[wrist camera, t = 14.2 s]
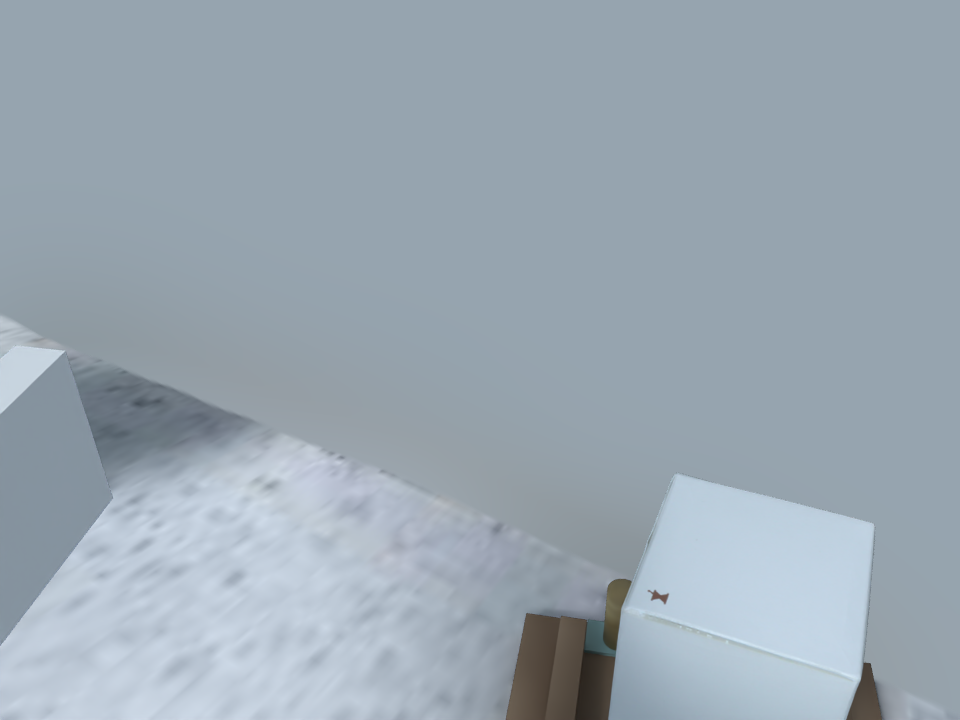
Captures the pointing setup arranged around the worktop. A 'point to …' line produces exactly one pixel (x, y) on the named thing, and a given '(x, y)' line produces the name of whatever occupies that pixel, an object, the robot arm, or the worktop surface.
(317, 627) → the worktop surface
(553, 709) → the brown shallow tray
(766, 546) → the supplement box
